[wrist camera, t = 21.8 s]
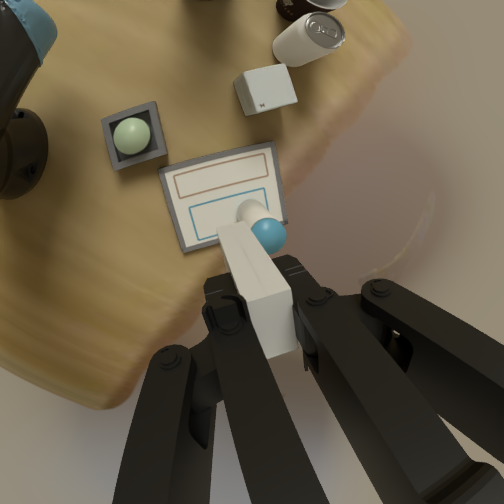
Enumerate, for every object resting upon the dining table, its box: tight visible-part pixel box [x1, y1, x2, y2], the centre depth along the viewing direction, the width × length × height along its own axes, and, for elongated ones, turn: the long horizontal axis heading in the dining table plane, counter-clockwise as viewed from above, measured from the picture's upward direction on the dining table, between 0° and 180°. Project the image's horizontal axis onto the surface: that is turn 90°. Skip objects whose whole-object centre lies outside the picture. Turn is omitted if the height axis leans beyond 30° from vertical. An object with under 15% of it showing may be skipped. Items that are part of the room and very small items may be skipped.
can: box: [272, 12, 345, 67], centre depth 30 cm, size 6×6×12 cm
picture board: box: [158, 141, 288, 253], centre depth 43 cm, size 18×14×1 cm
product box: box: [233, 63, 298, 116], centre depth 34 cm, size 6×6×7 cm
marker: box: [236, 199, 286, 255], centre depth 39 cm, size 4×4×12 cm
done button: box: [113, 118, 152, 154], centre depth 33 cm, size 5×5×3 cm
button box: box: [101, 101, 168, 171], centre depth 34 cm, size 8×8×3 cm
